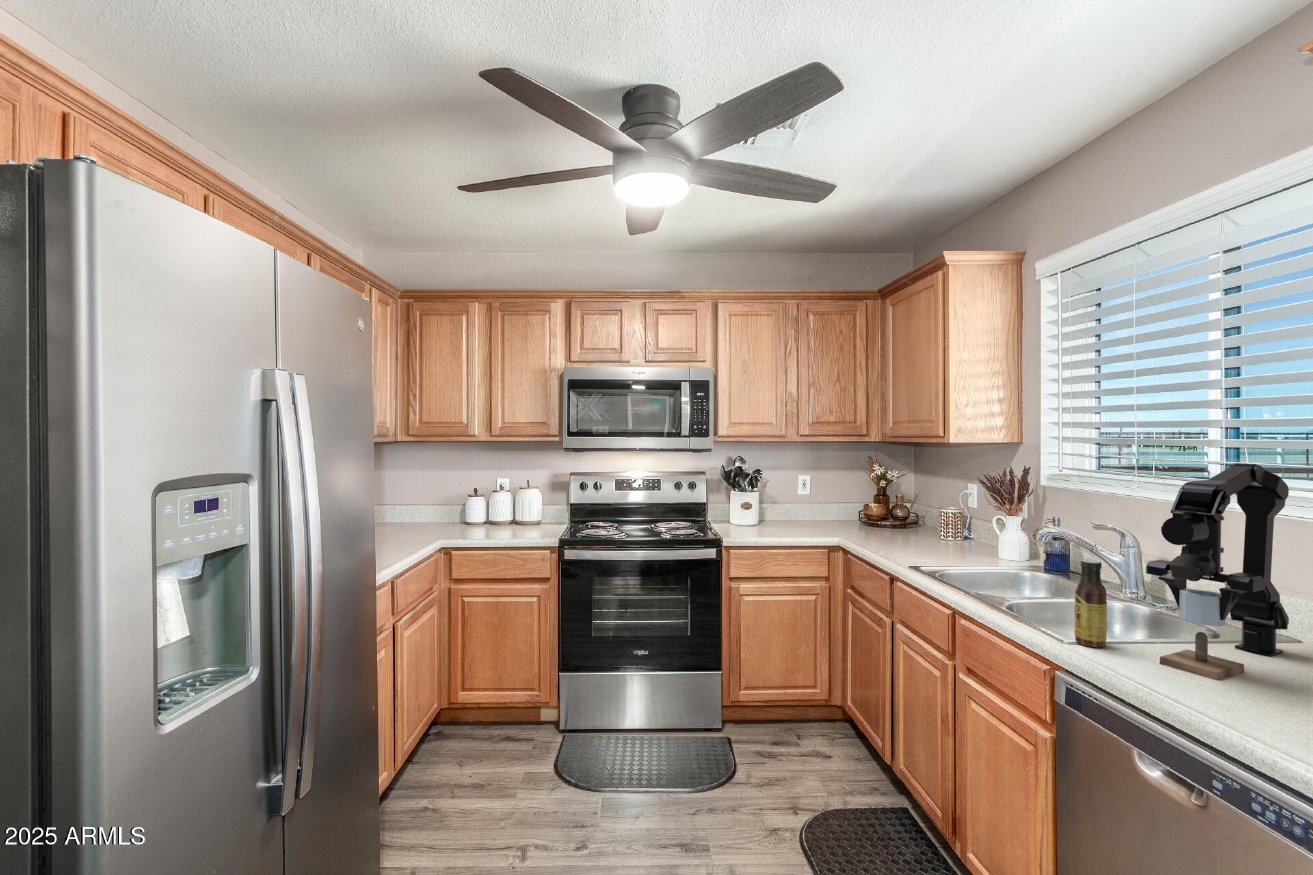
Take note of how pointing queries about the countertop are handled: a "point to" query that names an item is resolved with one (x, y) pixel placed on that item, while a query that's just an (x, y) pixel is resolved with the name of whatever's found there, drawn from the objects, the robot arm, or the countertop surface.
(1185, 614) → the blue roll
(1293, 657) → the countertop surface
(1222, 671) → the roll holder
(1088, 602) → the sauce bottle
